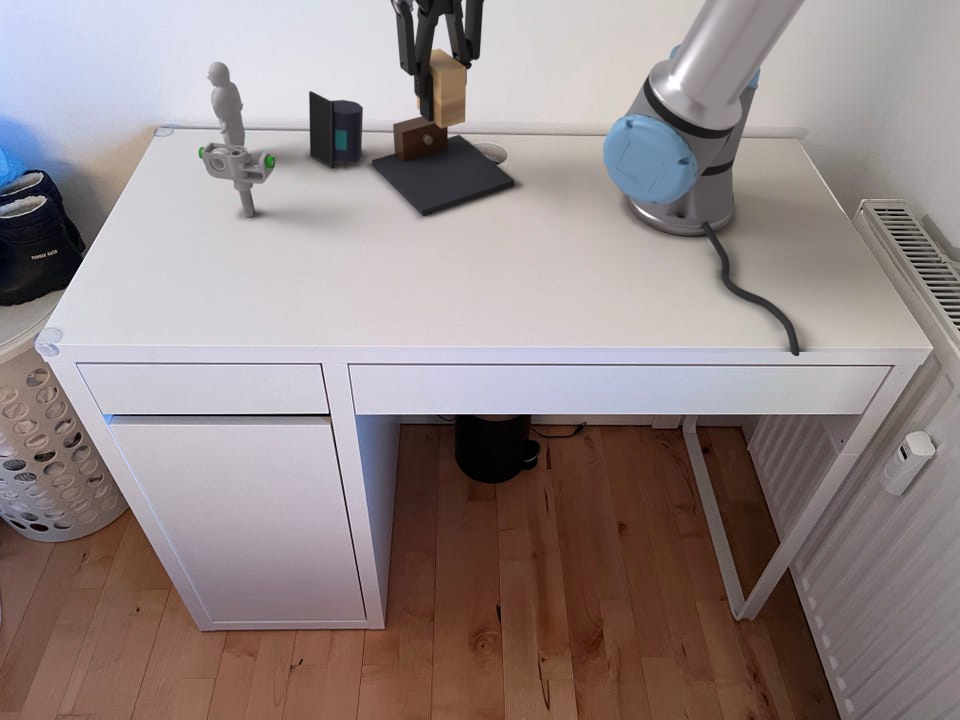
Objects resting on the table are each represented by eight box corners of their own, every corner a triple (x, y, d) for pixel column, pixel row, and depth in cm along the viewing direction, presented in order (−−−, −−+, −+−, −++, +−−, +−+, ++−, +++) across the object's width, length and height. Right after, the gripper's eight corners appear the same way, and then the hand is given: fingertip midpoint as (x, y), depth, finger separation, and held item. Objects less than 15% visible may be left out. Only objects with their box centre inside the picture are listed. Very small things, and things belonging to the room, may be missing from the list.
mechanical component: (279, 224, 105) (267, 161, 98) (211, 214, 106) (194, 151, 99) (287, 213, 107) (276, 150, 100) (220, 203, 108) (204, 140, 101)
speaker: (321, 172, 114) (318, 106, 108) (309, 156, 118) (306, 91, 111) (368, 165, 117) (367, 101, 111) (355, 150, 121) (354, 87, 114)
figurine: (236, 140, 121) (215, 48, 110) (259, 142, 121) (240, 50, 110) (214, 171, 114) (190, 75, 103) (240, 173, 114) (218, 77, 103)
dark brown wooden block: (451, 152, 118) (451, 122, 114) (407, 165, 115) (406, 135, 111) (438, 140, 120) (438, 111, 117) (394, 153, 117) (392, 123, 114)
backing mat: (514, 185, 113) (514, 180, 113) (422, 216, 107) (422, 210, 106) (459, 140, 123) (459, 134, 122) (372, 165, 116) (371, 159, 116)
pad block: (465, 121, 107) (466, 67, 101) (441, 128, 105) (440, 73, 99) (440, 101, 111) (440, 48, 105) (417, 108, 109) (415, 54, 103)
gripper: (481, -83, 97) (476, 90, 113) (363, -65, 90) (376, 116, 107) (514, -67, 92) (504, 110, 109) (392, -46, 86) (401, 139, 102)
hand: (441, 113), depth 108 cm, fingers closed on pad block, 4 cm apart
